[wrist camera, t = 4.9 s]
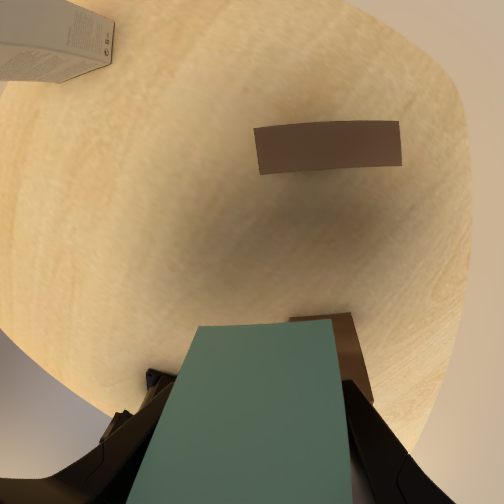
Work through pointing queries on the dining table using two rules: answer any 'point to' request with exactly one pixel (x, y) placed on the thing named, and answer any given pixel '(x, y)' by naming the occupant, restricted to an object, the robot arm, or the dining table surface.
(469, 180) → the dining table surface
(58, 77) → the skincare box
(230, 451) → the domino
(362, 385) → the domino
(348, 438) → the robot arm
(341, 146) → the domino
